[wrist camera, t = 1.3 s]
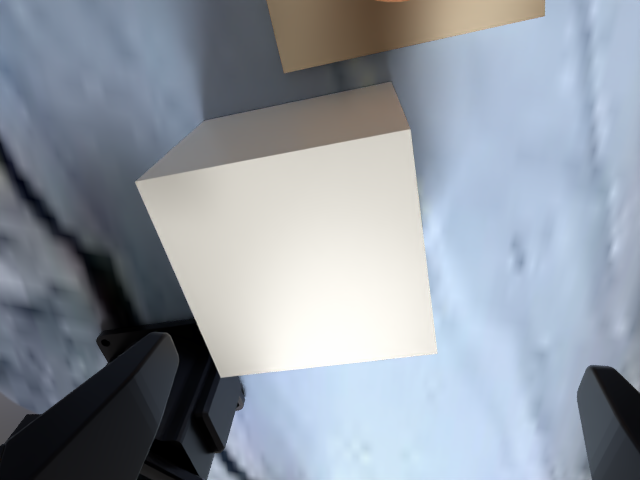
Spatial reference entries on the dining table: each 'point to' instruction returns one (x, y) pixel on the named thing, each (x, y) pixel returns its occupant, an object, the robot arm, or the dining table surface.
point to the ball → (392, 0)
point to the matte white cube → (298, 233)
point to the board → (380, 25)
